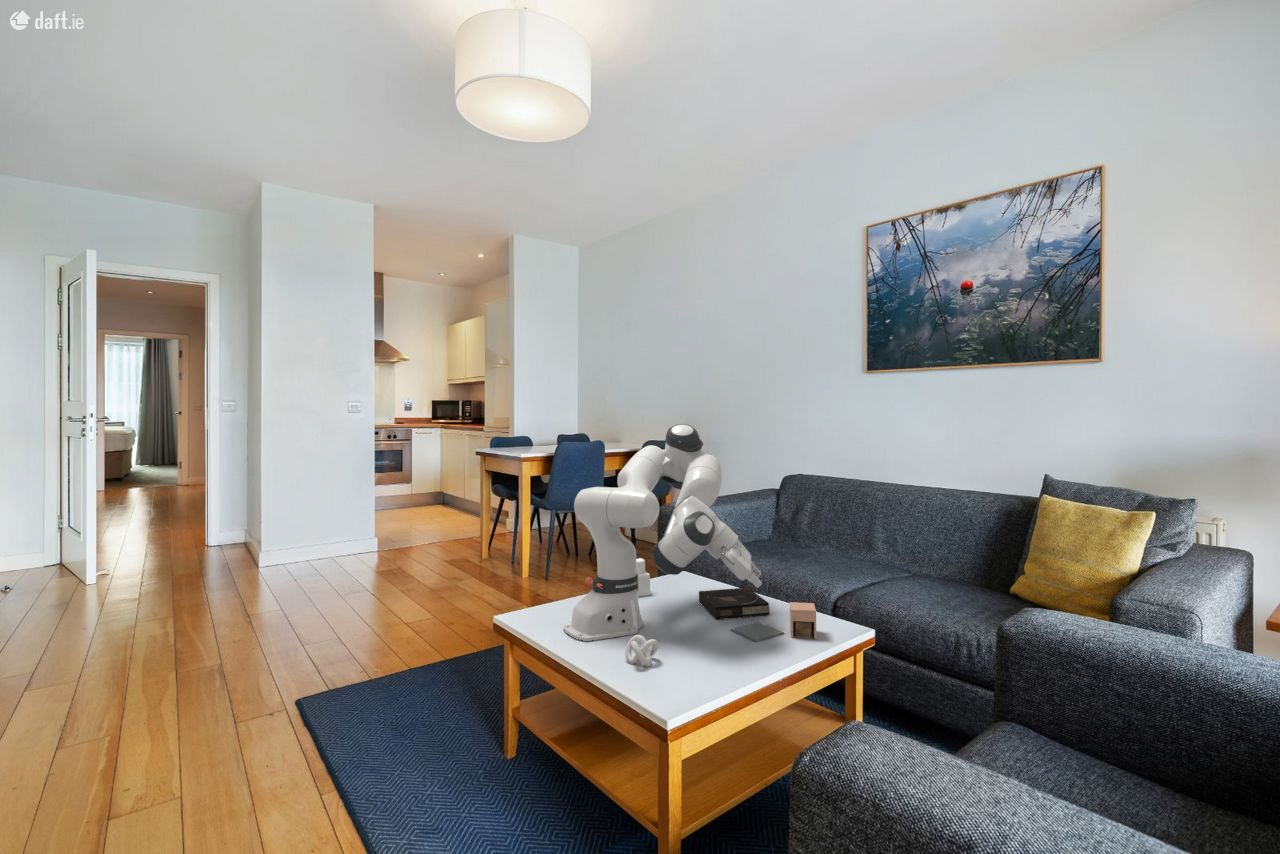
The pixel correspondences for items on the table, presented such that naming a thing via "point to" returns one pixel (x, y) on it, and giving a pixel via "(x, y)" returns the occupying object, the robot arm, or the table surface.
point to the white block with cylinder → (642, 578)
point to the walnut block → (802, 629)
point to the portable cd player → (733, 603)
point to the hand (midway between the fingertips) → (759, 580)
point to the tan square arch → (802, 615)
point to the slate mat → (757, 631)
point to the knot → (641, 650)
